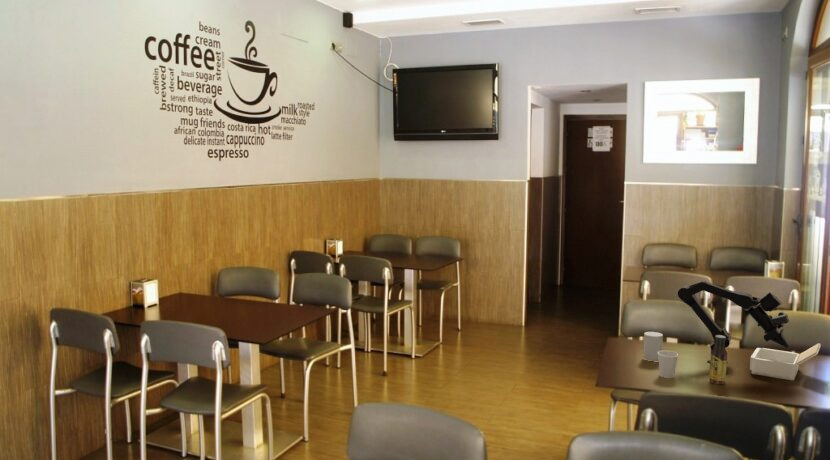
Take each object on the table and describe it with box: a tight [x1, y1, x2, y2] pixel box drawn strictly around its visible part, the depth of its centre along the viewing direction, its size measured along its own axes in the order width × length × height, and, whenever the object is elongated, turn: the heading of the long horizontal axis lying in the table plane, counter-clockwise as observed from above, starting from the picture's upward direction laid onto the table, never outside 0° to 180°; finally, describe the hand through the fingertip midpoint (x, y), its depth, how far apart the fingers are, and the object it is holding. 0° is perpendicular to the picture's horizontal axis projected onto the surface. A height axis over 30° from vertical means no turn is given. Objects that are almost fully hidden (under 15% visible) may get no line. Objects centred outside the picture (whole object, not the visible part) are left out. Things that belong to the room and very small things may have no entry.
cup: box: [642, 331, 664, 361], centre depth 313 cm, size 8×8×12 cm
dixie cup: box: [658, 350, 679, 379], centre depth 290 cm, size 8×8×10 cm
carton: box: [749, 347, 801, 381], centre depth 297 cm, size 17×20×7 cm
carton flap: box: [796, 342, 822, 366], centre depth 289 cm, size 9×17×1 cm
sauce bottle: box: [708, 335, 728, 385], centre depth 282 cm, size 6×6×20 cm
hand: (788, 347), depth 293 cm, fingers closed
